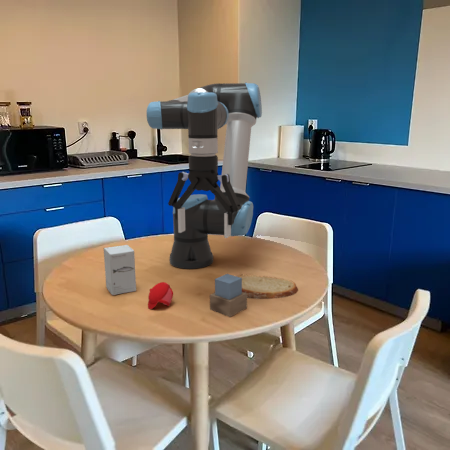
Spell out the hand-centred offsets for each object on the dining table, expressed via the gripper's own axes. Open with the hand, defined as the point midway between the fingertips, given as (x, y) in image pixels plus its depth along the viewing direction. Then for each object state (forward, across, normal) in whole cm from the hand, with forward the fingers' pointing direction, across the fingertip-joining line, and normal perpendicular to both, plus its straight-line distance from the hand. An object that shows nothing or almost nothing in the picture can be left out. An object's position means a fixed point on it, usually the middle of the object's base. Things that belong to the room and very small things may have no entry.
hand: (204, 234), depth 122 cm
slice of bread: (+20, +12, +13) cm, 27 cm away
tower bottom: (+20, +8, -3) cm, 21 cm away
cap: (+20, -10, -7) cm, 23 cm away
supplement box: (+19, -26, -2) cm, 33 cm away
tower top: (+15, +8, -3) cm, 17 cm away
